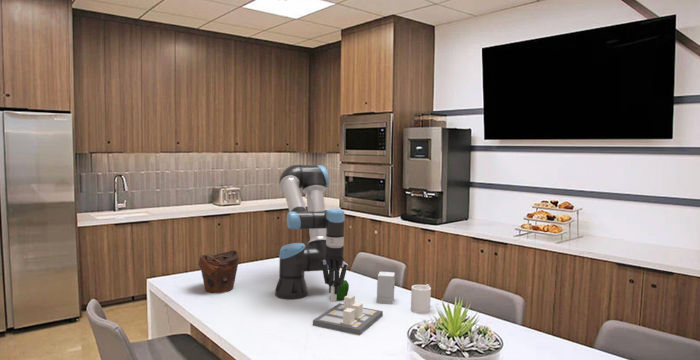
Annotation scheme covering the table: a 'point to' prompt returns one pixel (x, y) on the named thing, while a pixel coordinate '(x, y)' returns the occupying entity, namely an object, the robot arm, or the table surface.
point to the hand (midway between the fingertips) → (333, 301)
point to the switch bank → (335, 316)
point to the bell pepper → (343, 290)
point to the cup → (420, 298)
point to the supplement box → (385, 287)
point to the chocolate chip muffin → (219, 271)
